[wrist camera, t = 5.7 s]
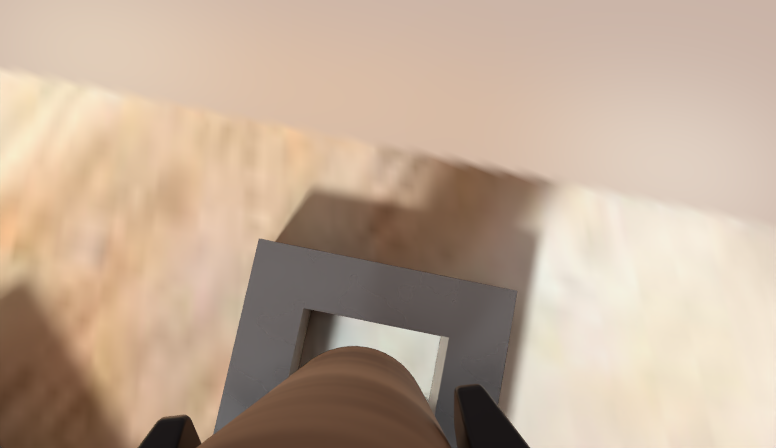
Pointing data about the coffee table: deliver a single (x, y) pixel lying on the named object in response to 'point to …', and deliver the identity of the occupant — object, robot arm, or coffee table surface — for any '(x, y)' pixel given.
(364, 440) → the pin
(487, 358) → the gray square socket plate
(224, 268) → the coffee table surface
